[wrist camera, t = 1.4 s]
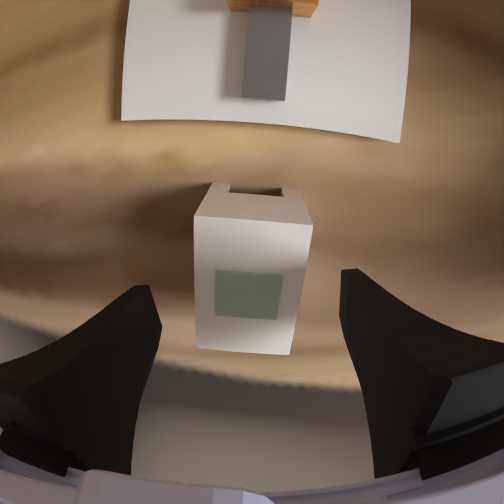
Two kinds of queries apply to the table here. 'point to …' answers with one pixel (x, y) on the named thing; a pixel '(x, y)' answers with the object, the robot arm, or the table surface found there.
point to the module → (249, 269)
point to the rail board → (299, 66)
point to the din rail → (268, 44)
